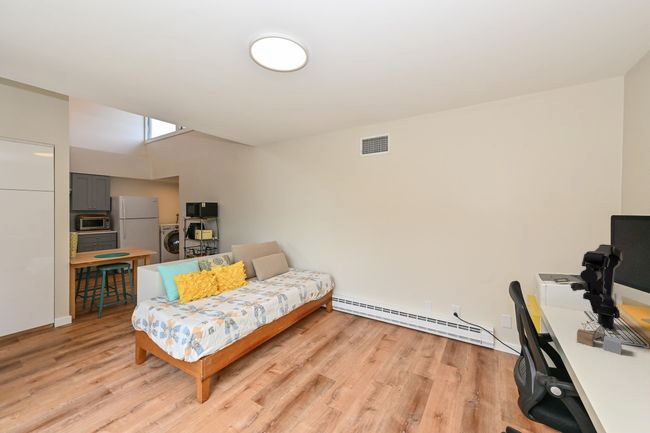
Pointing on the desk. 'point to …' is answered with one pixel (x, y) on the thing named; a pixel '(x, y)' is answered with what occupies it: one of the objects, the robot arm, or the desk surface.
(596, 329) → the game die
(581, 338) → the walnut block
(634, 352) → the desk surface
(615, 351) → the slate block
